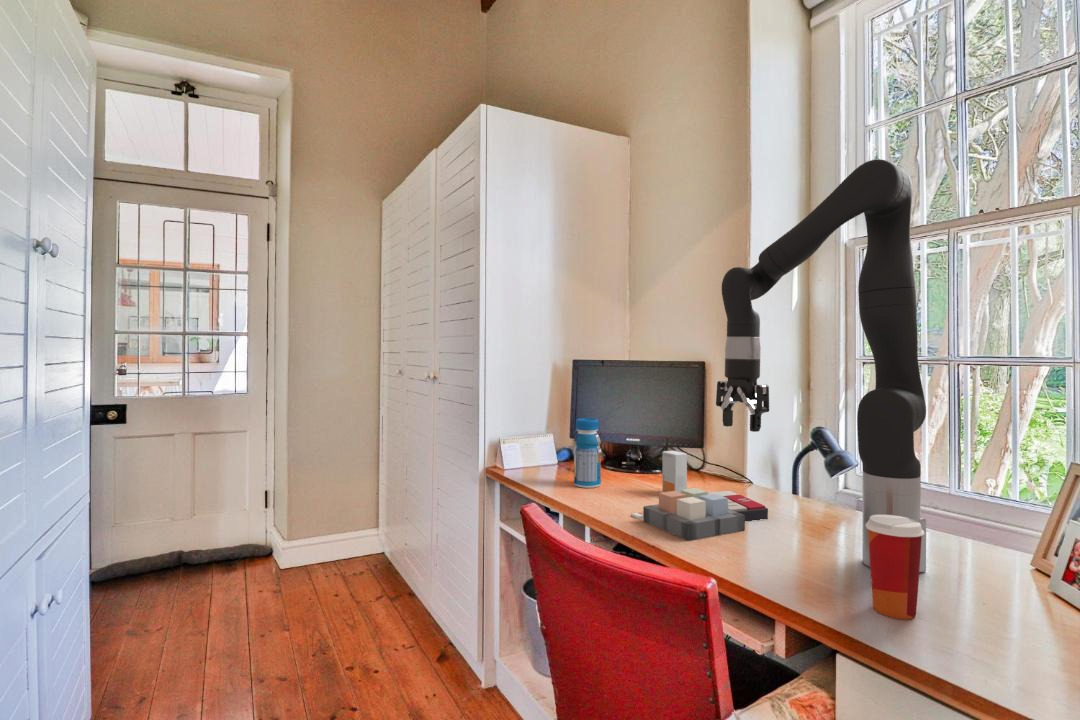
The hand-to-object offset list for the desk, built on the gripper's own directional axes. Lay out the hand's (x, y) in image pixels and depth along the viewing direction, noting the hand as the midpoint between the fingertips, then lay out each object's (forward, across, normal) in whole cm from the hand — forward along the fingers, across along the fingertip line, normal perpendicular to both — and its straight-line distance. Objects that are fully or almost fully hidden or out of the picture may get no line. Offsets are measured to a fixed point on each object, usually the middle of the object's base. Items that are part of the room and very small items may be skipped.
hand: (740, 428), depth 129 cm
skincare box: (+24, +31, -5) cm, 39 cm away
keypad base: (+23, +5, +8) cm, 25 cm away
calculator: (+24, +10, -7) cm, 27 cm away
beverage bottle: (+24, +51, +12) cm, 58 cm away
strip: (+23, +17, +9) cm, 30 cm away
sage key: (+20, +9, +5) cm, 22 cm away
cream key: (+20, +2, +12) cm, 23 cm away
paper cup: (+22, -43, +8) cm, 49 cm away
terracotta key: (+20, +9, +12) cm, 25 cm away
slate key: (+20, +2, +5) cm, 20 cm away
